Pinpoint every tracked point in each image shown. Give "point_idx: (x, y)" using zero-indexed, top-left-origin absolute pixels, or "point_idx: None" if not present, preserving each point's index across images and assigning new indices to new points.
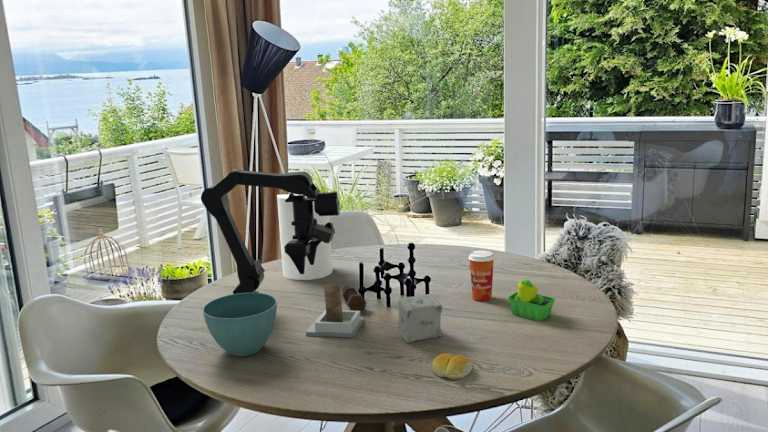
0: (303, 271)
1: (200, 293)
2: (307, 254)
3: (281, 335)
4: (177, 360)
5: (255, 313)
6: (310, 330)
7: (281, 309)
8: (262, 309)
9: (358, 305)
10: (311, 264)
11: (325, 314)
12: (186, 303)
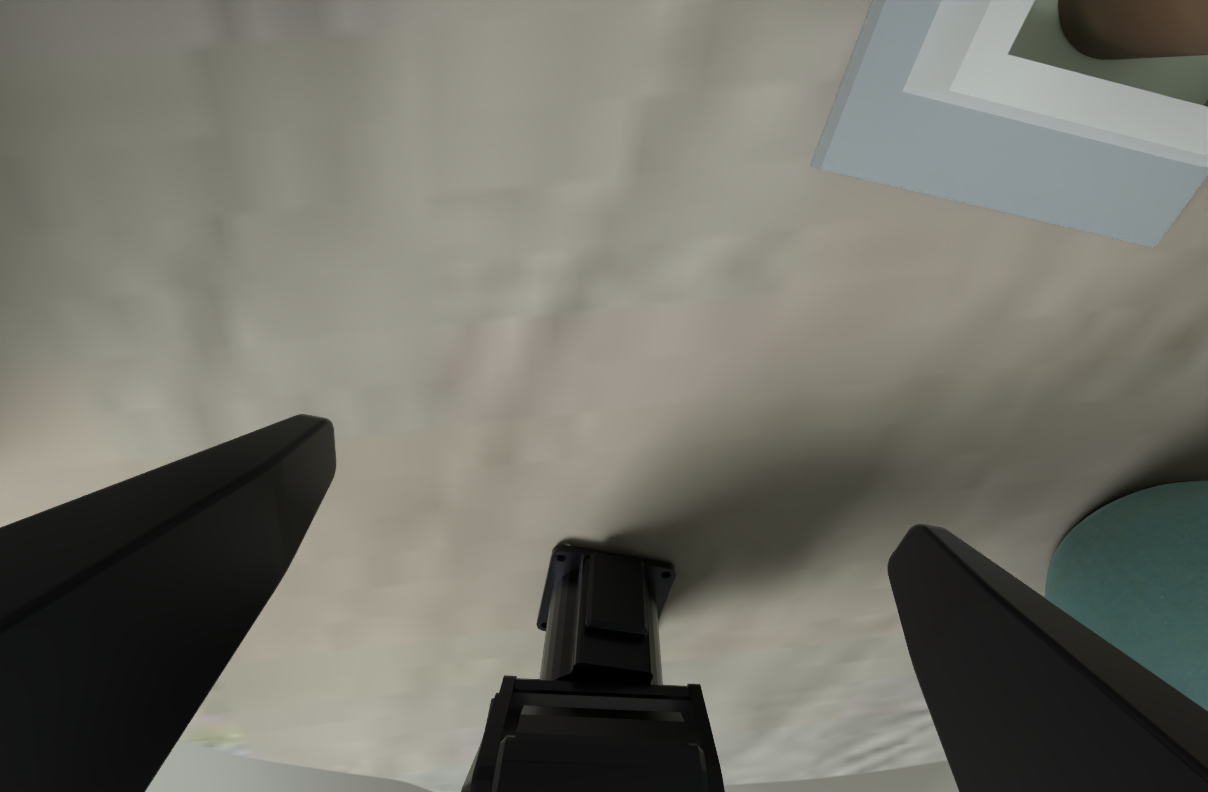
0: (990, 567)
1: (328, 762)
2: (181, 705)
3: (1027, 401)
4: None
5: (1122, 644)
6: (1142, 212)
7: (550, 452)
8: (1199, 640)
9: None
10: (332, 455)
11: (1091, 77)
12: (456, 778)
